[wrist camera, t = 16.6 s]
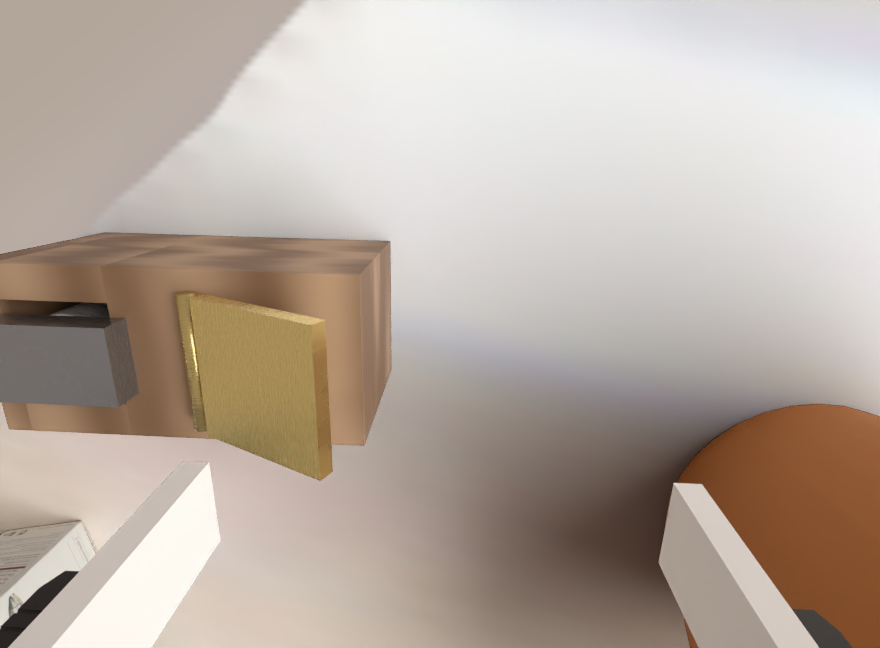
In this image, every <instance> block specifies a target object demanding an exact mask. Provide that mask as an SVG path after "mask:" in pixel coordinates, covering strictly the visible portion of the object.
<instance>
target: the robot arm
mask: <svg viewBox="0 0 880 648" xmlns="http://www.w3.org/2000/svg"><path fill="white" fill-rule="evenodd" d="M219 542H220V534H219V527H218V521H217V514H216V507H215V500H214V493H213V486H212V480H211V473H210V466H209V462H193V461H183V462H182V463H181V464H180V465H179V466H178V467H177V468H176V469H175V470H174V471H173V472H172V473H171V474H170V475H169V477H168V478H167V479H166V480H165V481H164V482H163V483H162V484H161V485H160V486H159V487H158V488H157V489H156V490H155V491H154V493H153V494H152V495H151V496H150V497H149V498H148V499H147V500H146V501H145V502H144V503H143V504H142V505H141V506H140V507H139V509H138V510H137V511H136V512H135V513H134V514H133V515H132V516H131V517H130V518H129V519H128V520H127V521H126V522H125V523H124V525H123V526H122V527H121V528H120V529H119V530H118V531H117V532H116V533H115V534H114V535H113V536H112V537H111V538H110V539H109V541H108V542H107V543H106V544H105V545H104V546H103V547H102V548H101V549H100V550H99V551H98V552H97V553H96V554H95V555H94V557H93V558H92V559H91V560H90V561H89V562H88V563H87V564H86V565H85V566H84V567H83V568H82V569H81V570H80V571H64V572H63V573H61V574H60V575H58V576H56V577H55V578H53V579H52V580H50V581H49V582H47V583H46V584H44V585H43V586H41V587H40V588H38V589H37V590H36V592H35V593H34V594H33V595H32V596H31V597H30V598H29V599H28V600H27V601H26V602H25V603H24V604H23V605H22V606H21V607H20V608H19V609H18V612H17V613H14V614H13V615H12V616H11V617H10V618H9V619H8V620H7V621H6V622H5V623H4V624H3V625H2V626H1V628H0V648H151V647H152V646H153V644H154V642H155V641H156V639H157V638H158V636H159V635H160V633H161V632H162V630H163V629H164V627H165V625H166V624H167V622H168V621H169V619H170V618H171V616H172V615H173V613H174V612H175V610H176V608H177V607H178V605H179V604H180V602H181V601H182V599H183V598H184V596H185V594H186V593H187V591H188V590H189V588H190V587H191V585H192V584H193V582H194V581H195V579H196V577H197V576H198V574H199V573H200V571H201V570H202V568H203V567H204V565H205V563H206V562H207V560H208V559H209V557H210V556H211V554H212V553H213V551H214V550H215V548H216V546H217V545H218V543H219ZM659 565H660V567H661V569H662V571H663V573H664V576H665V578H666V580H667V582H668V584H669V586H670V588H671V590H672V592H673V595H674V597H675V599H676V601H677V603H678V605H679V607H680V609H681V612H682V614H683V616H684V618H685V620H686V622H687V624H688V626H689V629H690V631H691V633H692V635H693V637H694V639H695V641H696V643H697V646H698V648H853V647H852V646H851V645H850V644H849V642H848V641H847V640H846V638H845V637H844V636H843V635H842V633H841V632H840V631H839V630H837V629H836V628H835V627H834V626H833V625H831V624H830V623H829V622H828V621H826V620H825V619H824V618H823V617H822V616H820V615H819V614H818V613H817V612H816V611H814V610H804V609H791V608H790V606H789V605H788V603H787V602H786V601H785V599H784V598H783V596H782V595H781V594H780V592H779V591H778V589H777V588H776V587H775V585H774V584H773V582H772V581H771V580H770V578H769V577H768V575H767V574H766V573H765V571H764V570H763V569H762V567H761V566H760V564H759V563H758V562H757V560H756V559H755V557H754V556H753V555H752V553H751V552H750V550H749V549H748V548H747V546H746V545H745V543H744V542H743V541H742V539H741V538H740V536H739V535H738V534H737V532H736V531H735V530H734V528H733V527H732V525H731V524H730V523H729V521H728V520H727V518H726V517H725V516H724V514H723V513H722V511H721V510H720V509H719V507H718V506H717V504H716V503H715V502H714V500H713V499H712V497H711V496H710V495H709V493H708V492H707V491H706V489H705V488H704V486H703V485H702V484H689V483H673V489H672V494H671V499H670V505H669V510H668V515H667V520H666V526H665V531H664V536H663V542H662V547H661V552H660V558H659Z"/></svg>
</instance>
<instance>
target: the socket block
mask: <svg viewBox="0 0 880 648" xmlns="http://www.w3.org/2000/svg"><path fill="white" fill-rule="evenodd" d="M182 291H195V292H196V294H197V296H198V295H202V294H207V295H212V296H216V297H221V298H226V299H230V300H235V301H240V302H244V303H249V304H253V305H258V306H263V307H267V308H272V309H277V310H281V311H286V312H291V313H295V314H300V315H305V316H309V317H314V318H318V319H323V320H325V330H326V349H327V369H328V389H329V409H330V429H331V444H335V445H357V446H364V445H365V442H366V439H367V436H368V433H369V431H370V428H371V425H372V422H373V419H374V416H375V414H376V411H377V408H378V405H379V402H380V400H381V397H382V394H383V391H384V388H385V385H386V383H387V380H388V377H389V374H390V371H391V273H390V241H363V240H331V239H298V238H265V237H233V236H200V235H168V234H135V233H101V234H96V235H91V236H86V237H81V238H77V239H72V240H67V241H62V242H57V243H52V244H47V245H42V246H38V247H33V248H28V249H23V250H18V251H13V252H8V253H4V254H0V313H3V314H30V315H51V314H53V313H56V312H58V311H61V310H64V309H66V308H69V307H72V306H74V305H77V304H80V303H82V302H88V303H107V306H108V311H109V317H111V318H126V322H127V327H128V333H129V338H130V344H131V350H132V355H133V361H134V366H135V372H136V377H137V383H138V389H139V393H138V394H137V395H136V396H134V397H133V398H131V399H130V400H129V401H127V402H126V403H124V404H123V405H122V406H120V407H96V406H74V405H51V404H29V403H6V402H2V406H3V409H4V413H5V417H6V420H7V424H8V428H9V429H14V430H36V431H57V432H78V433H100V434H121V435H143V436H164V437H185V438H207V439H216V438H213V437H211V436H208V433H207V431H206V432H196V431H195V430H194V424H193V417H192V410H191V403H190V396H189V389H188V382H187V376H186V369H185V362H184V355H183V348H182V341H181V334H180V327H179V320H178V314H177V307H176V300H175V293H177V292H182Z"/></svg>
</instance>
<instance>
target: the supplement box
mask: <svg viewBox="0 0 880 648" xmlns="http://www.w3.org/2000/svg"><path fill="white" fill-rule="evenodd" d="M95 554H96V553H95V551H94V549H93V546H92V544H91V542H90V540H89V537H88V535H87V533H86V531H85V528H84V526H83V523H82V522H81V521H76V522H68V523H60V524H52V525H45V526H37V527H30V528H22V529H15V530H9V531H5V532H4V533H2V534H1V535H0V628H1V626H2V625H3V624H4V623H5V622H6V621H7V620H8V619H9V618H10V617H11V616H12V615H13V614H14V613H17V612H18V609H19V608H20V607H21V606H22V605H23V604H24V603H25V602H26V601H27V600H28V599H29V598H30V597H31V596H32V595H33V594H34V593H35V592H36V590H37V589H38V588H40V587H41V586H43V585H44V584H46V583H47V582H49V581H50V580H52V579H53V578H55V577H56V576H58V575H60V574H61V573H63V572H64V571H80V570H81V569H82V568H83V567H84V566H85V565H86V564H87V563H88V562H89V561H90V560H91V559H92V558H93V557H94V555H95Z"/></svg>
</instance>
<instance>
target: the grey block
mask: <svg viewBox="0 0 880 648" xmlns="http://www.w3.org/2000/svg"><path fill="white" fill-rule="evenodd" d="M138 393H139V389H138V383H137V377H136V372H135V366H134V361H133V355H132V350H131V344H130V338H129V333H128V327H127V322H126V318H111V317H109V311H108V306H107V303H88V302H82V303H80V304H77V305H74V306H72V307H69V308H66V309H64V310H61V311H58V312H56V313H53V314H51V315H30V314H3V313H0V402H6V403H29V404H51V405H74V406H96V407H120V406H122V405H123V404H124V403H126V402H127V401H129V400H130V399H131V398H133V397H134V396H136V395H137V394H138Z"/></svg>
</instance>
